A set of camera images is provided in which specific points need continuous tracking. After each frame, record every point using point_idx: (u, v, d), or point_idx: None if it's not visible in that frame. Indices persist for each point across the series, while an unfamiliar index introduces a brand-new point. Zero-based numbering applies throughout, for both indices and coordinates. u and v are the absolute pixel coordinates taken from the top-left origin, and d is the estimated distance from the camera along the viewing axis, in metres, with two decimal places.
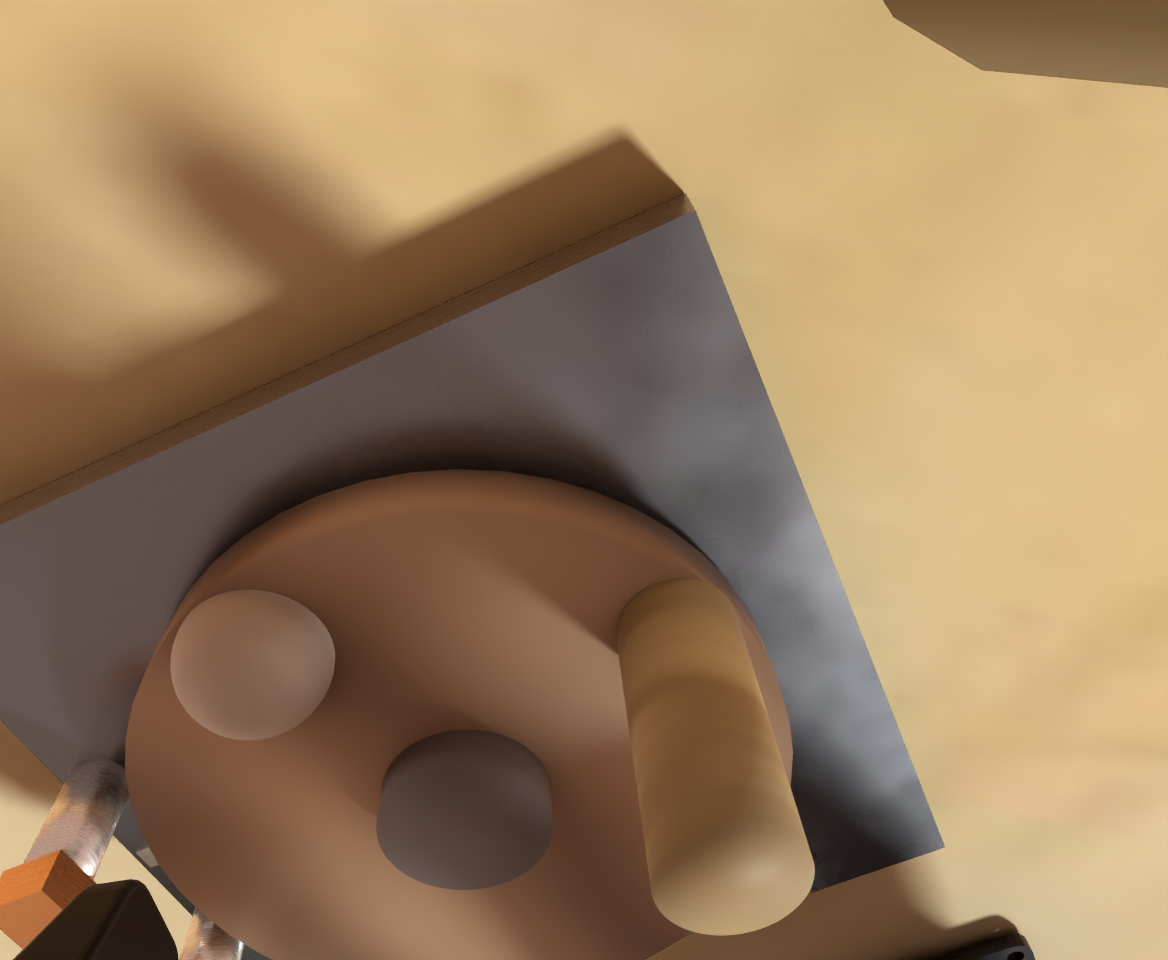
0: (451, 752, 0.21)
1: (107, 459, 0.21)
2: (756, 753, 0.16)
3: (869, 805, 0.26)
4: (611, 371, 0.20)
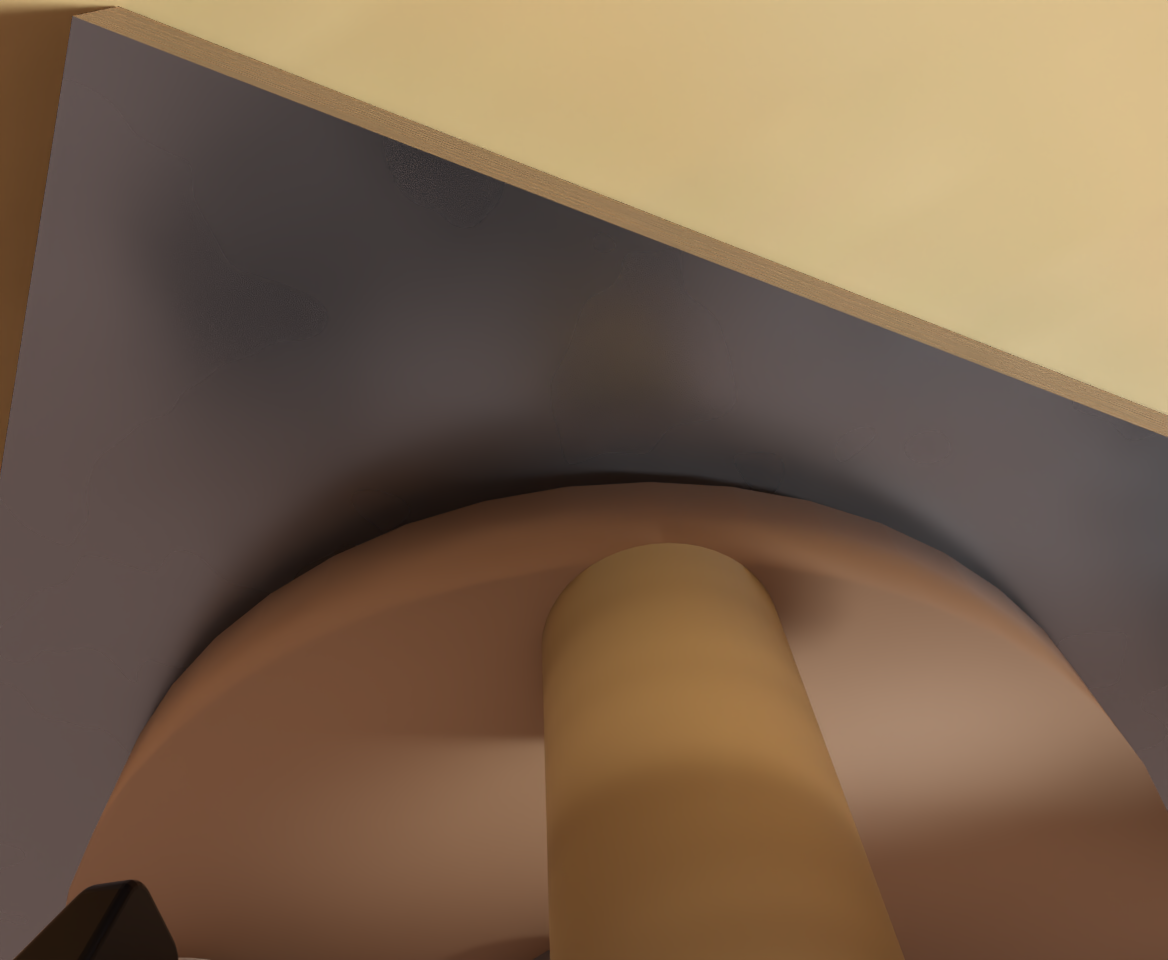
0: None
1: None
2: None
3: None
4: (251, 349, 0.11)
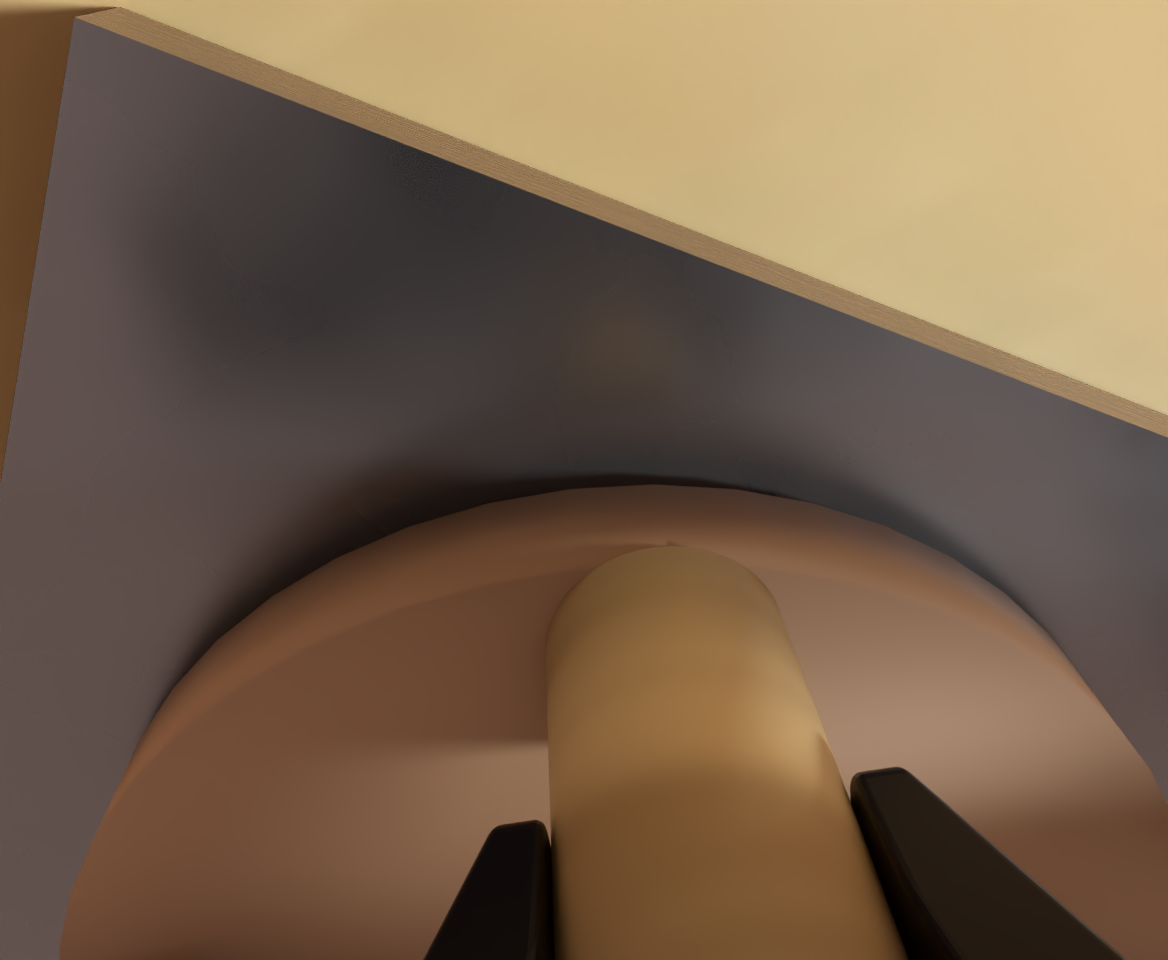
0: None
1: None
2: None
3: None
4: (253, 351, 0.11)
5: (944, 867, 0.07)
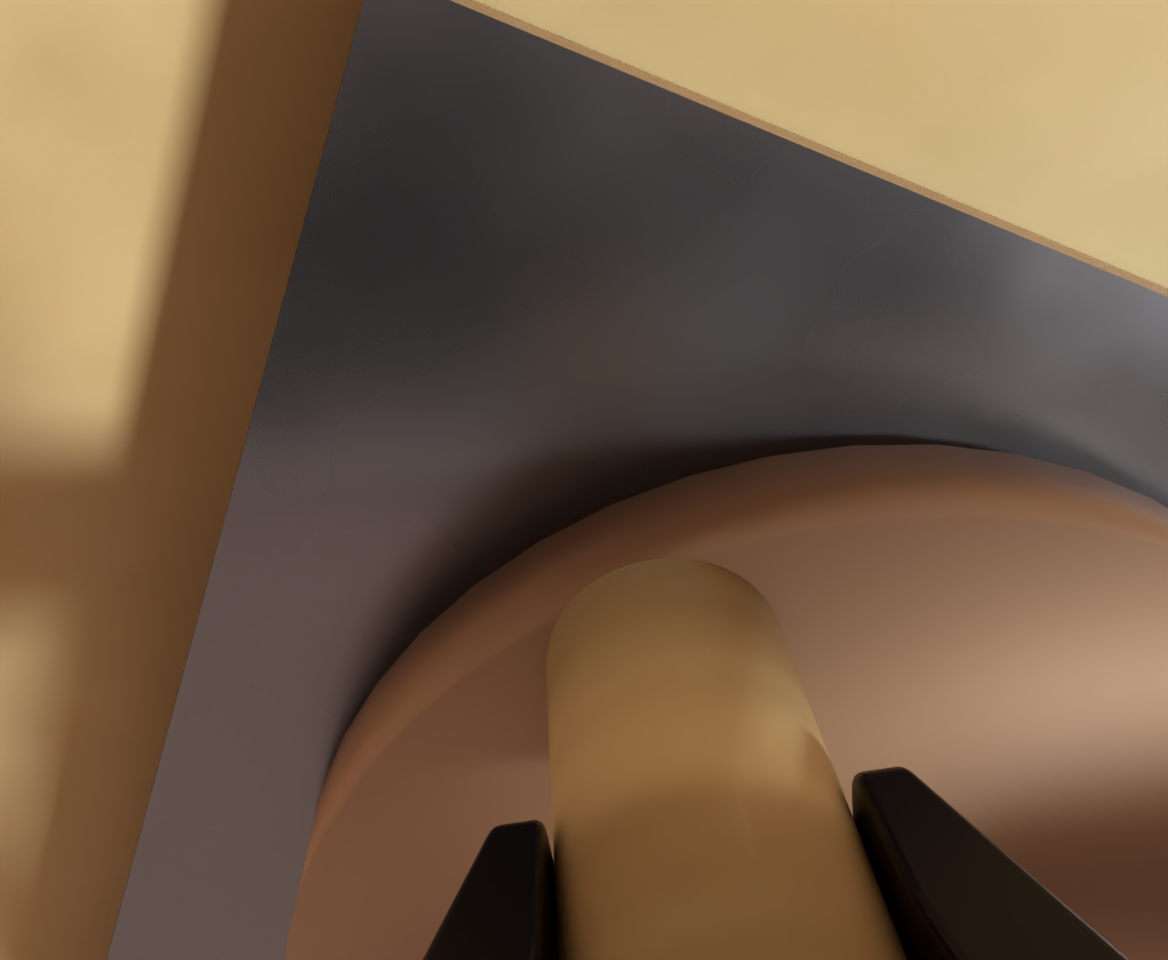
0: None
1: None
2: None
3: None
4: (510, 310, 0.11)
5: (946, 867, 0.07)
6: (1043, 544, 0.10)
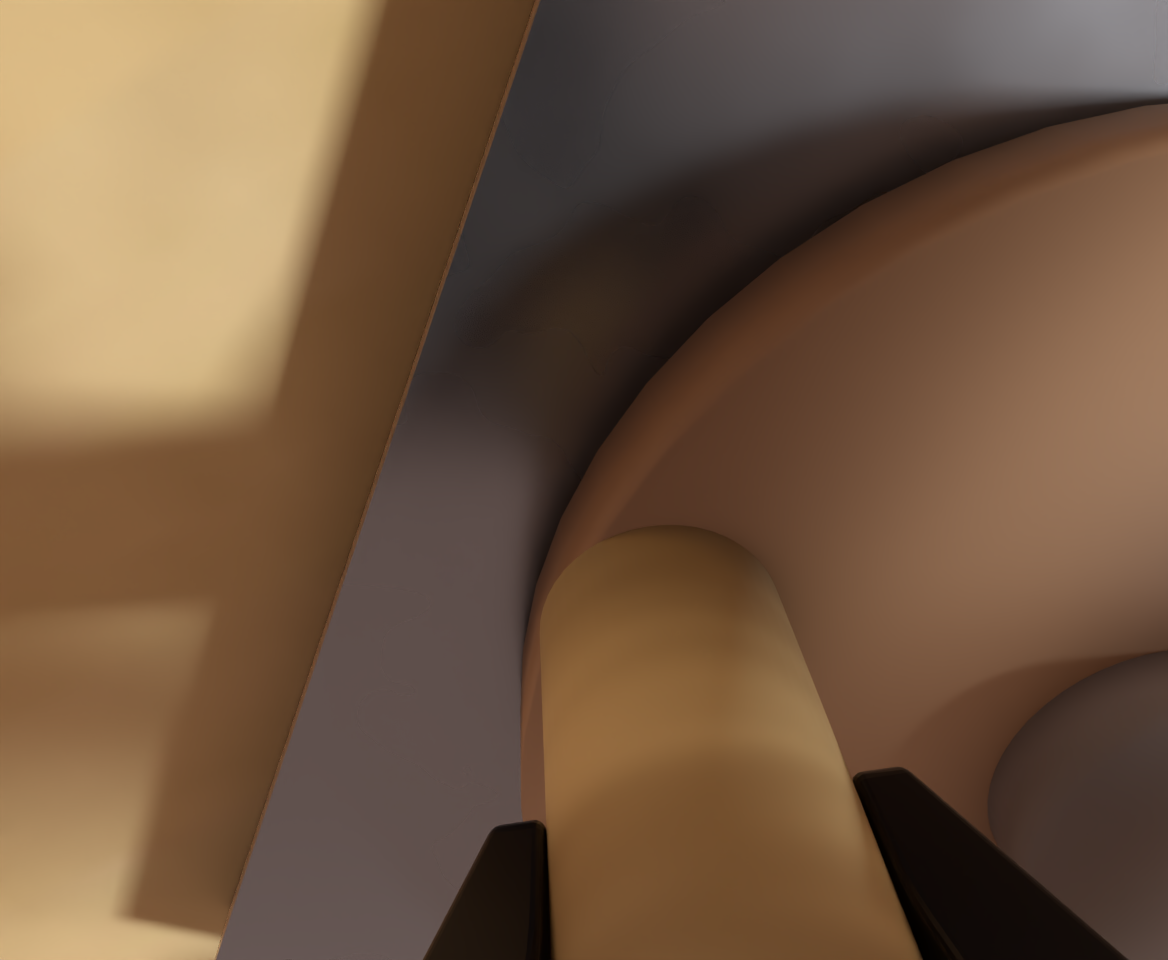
0: None
1: (314, 658, 0.14)
2: None
3: None
4: None
5: (945, 867, 0.07)
6: (896, 295, 0.09)
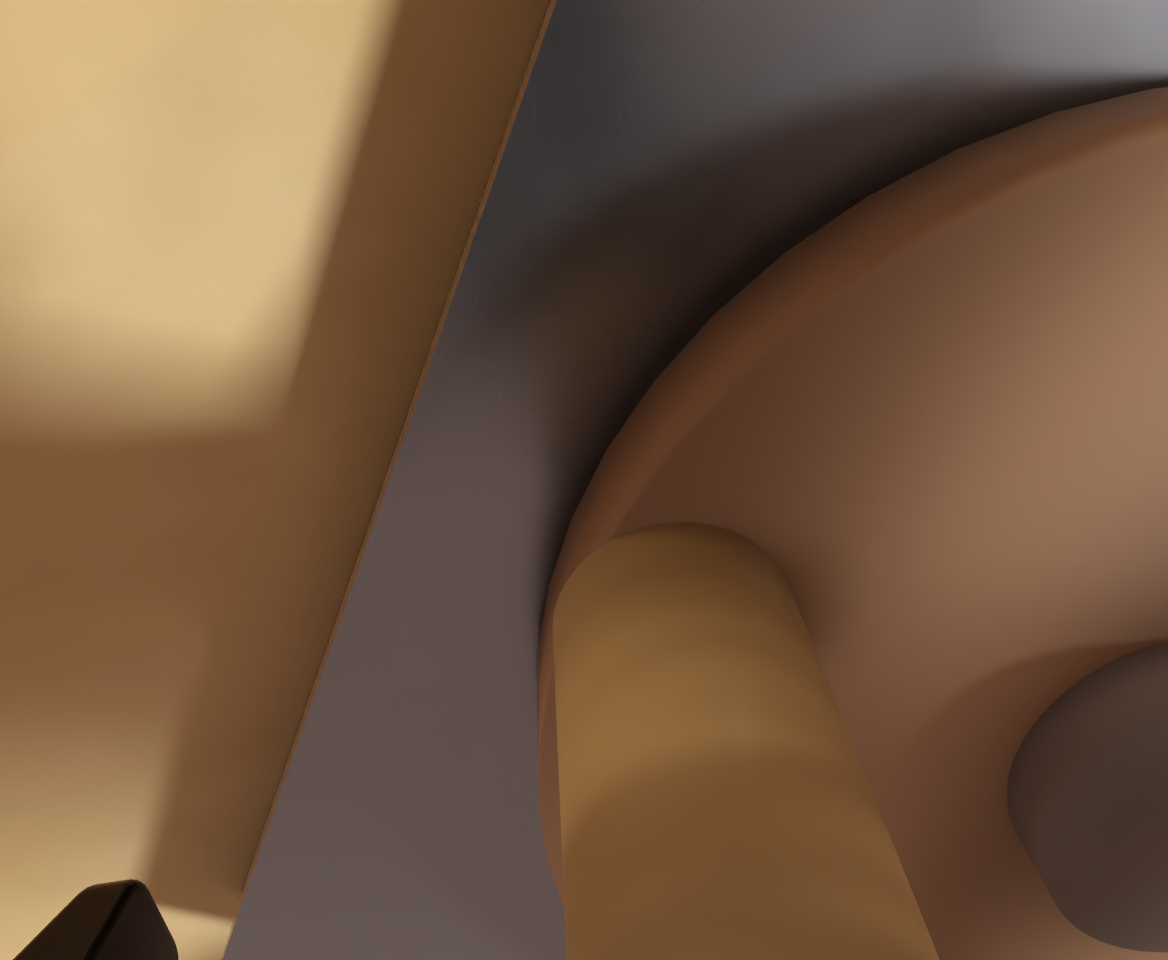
0: None
1: (329, 641, 0.14)
2: None
3: None
4: None
5: None
6: (901, 287, 0.09)
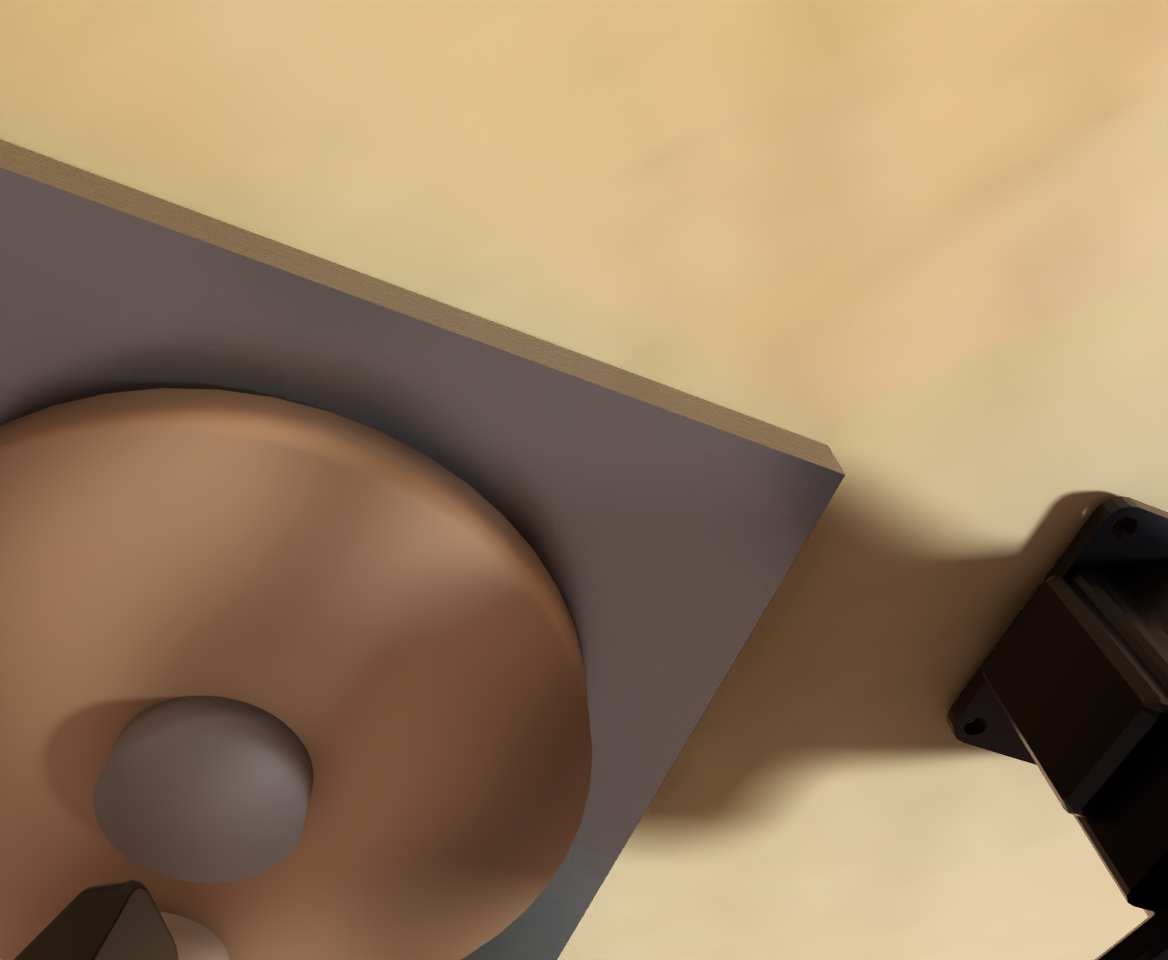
0: None
1: None
2: None
3: (698, 494, 0.19)
4: None
5: None
6: None
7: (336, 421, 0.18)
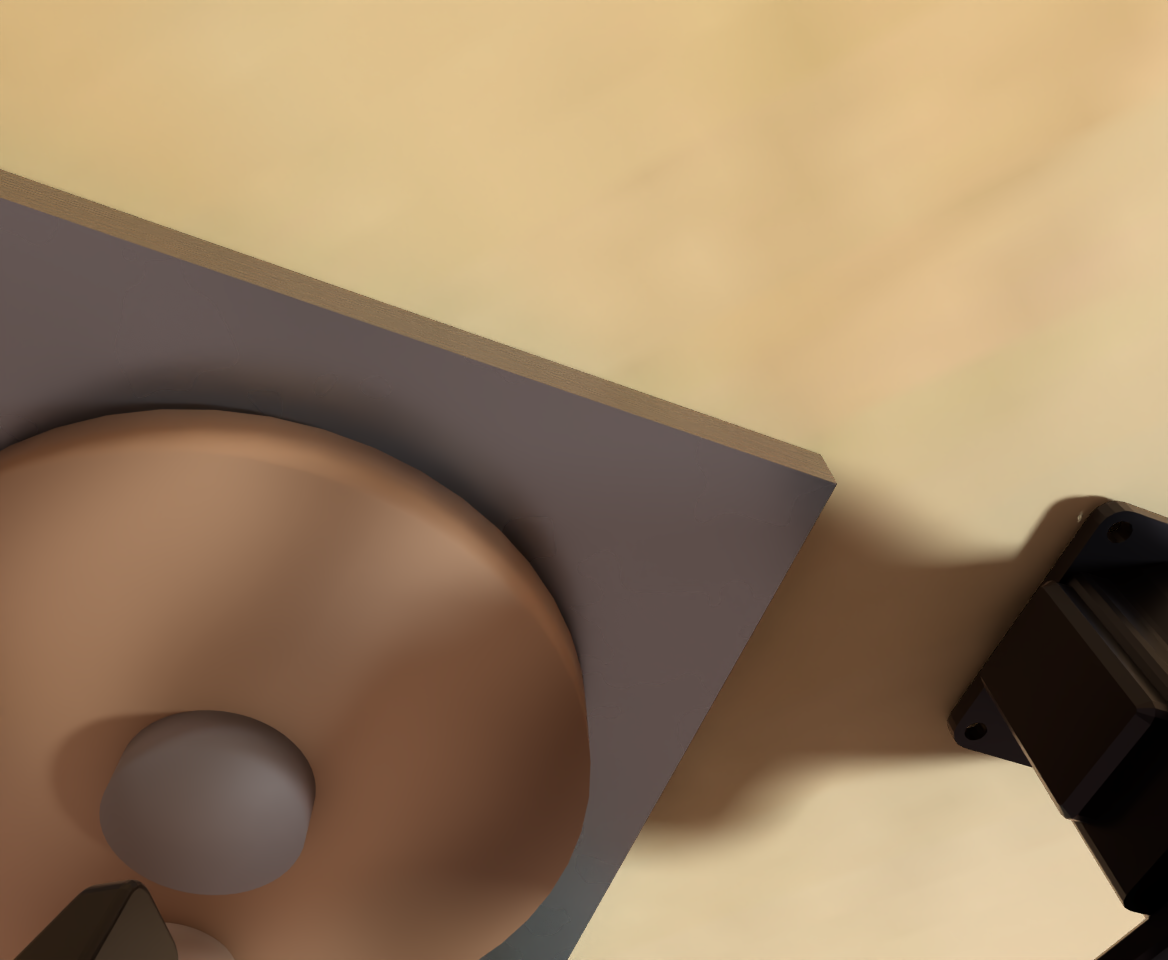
0: None
1: None
2: None
3: (691, 505, 0.19)
4: None
5: None
6: None
7: (331, 439, 0.18)
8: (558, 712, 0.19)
